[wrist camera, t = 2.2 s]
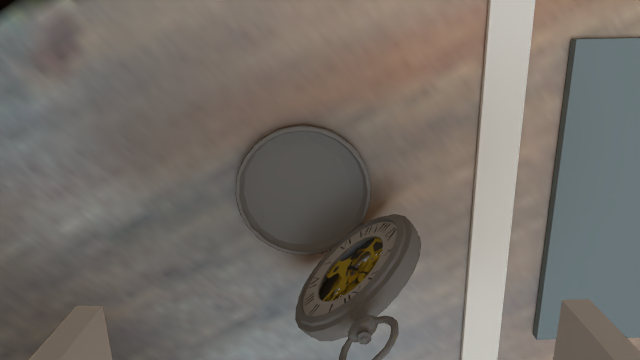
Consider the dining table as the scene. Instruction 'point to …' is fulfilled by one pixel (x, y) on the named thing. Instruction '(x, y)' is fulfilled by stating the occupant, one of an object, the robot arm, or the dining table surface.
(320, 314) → the pocket watch
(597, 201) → the mat
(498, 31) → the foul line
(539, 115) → the dining table surface
